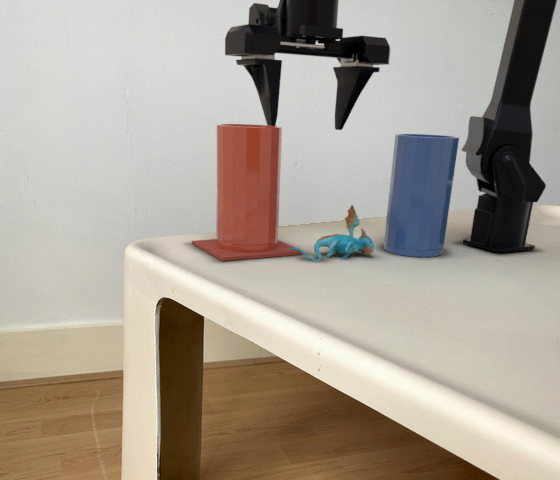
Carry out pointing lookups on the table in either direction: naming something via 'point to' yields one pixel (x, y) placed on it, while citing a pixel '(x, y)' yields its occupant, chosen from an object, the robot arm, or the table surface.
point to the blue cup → (420, 194)
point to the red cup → (247, 186)
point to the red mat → (228, 255)
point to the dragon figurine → (344, 240)
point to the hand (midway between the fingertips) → (305, 129)
